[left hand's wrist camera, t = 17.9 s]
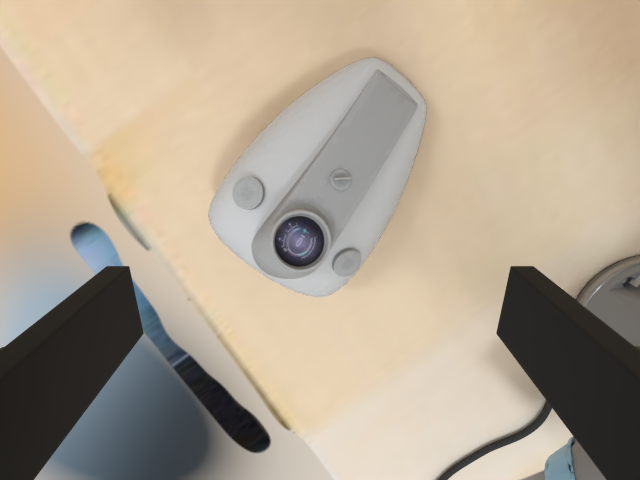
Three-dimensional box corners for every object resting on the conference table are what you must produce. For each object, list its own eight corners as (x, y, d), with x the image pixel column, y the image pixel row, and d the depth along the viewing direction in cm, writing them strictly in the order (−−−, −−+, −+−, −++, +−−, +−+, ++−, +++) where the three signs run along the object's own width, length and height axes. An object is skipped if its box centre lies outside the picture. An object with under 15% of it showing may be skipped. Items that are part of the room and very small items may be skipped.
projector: (431, 254, 43) (483, 326, 29) (245, 285, 45) (213, 368, 31) (414, 49, 35) (475, 19, 21) (189, 96, 37) (112, 95, 23)
